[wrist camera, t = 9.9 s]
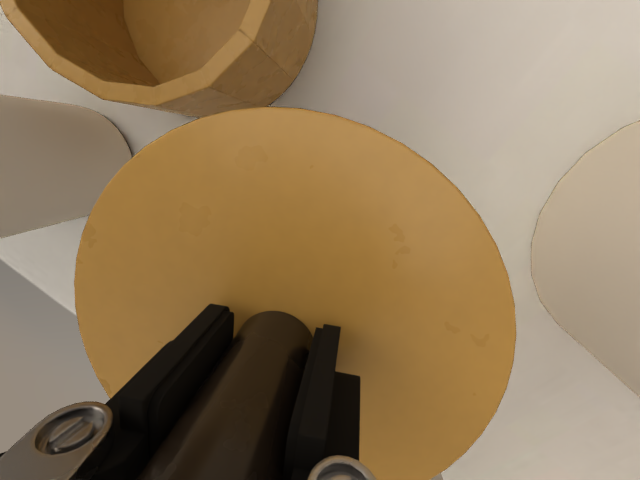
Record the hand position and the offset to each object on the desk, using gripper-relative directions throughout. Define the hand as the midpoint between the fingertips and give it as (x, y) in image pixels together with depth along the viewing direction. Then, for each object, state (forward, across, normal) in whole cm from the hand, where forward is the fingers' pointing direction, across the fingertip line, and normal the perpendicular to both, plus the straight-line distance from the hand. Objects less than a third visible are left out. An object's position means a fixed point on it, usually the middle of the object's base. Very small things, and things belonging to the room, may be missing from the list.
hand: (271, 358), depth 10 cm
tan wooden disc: (+1, 0, 0) cm, 1 cm away
